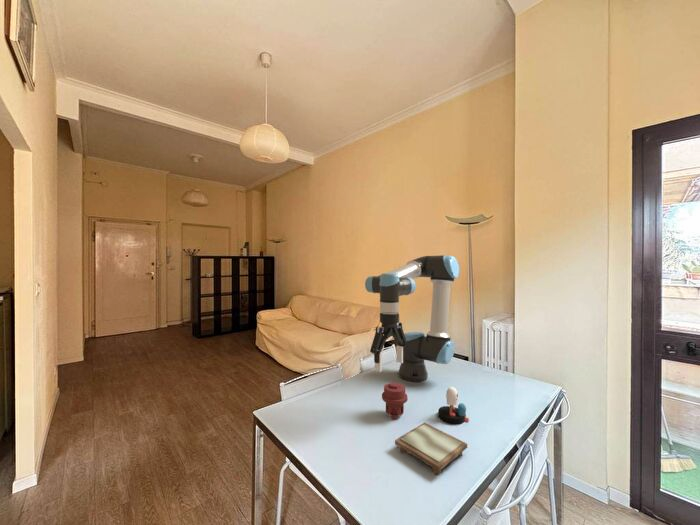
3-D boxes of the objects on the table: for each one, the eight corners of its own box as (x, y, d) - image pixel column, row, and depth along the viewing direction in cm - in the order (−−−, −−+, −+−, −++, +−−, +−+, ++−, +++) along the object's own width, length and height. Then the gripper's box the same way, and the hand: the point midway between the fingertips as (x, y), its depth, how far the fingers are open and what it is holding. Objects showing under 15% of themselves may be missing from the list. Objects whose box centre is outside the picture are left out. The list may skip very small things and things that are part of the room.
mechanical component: (407, 410, 118) (407, 423, 108) (383, 408, 120) (380, 421, 110) (407, 380, 118) (407, 391, 108) (383, 378, 120) (380, 388, 110)
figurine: (469, 427, 105) (469, 395, 105) (437, 421, 109) (437, 390, 109) (468, 415, 114) (468, 384, 114) (439, 410, 118) (439, 380, 118)
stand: (424, 431, 103) (424, 421, 103) (467, 453, 91) (467, 442, 91) (394, 450, 93) (395, 439, 93) (438, 478, 80) (438, 465, 80)
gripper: (400, 307, 125) (400, 356, 125) (360, 315, 107) (360, 372, 107) (415, 309, 120) (415, 361, 120) (376, 318, 102) (376, 377, 102)
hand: (389, 366), depth 113 cm, fingers open, 13 cm apart
